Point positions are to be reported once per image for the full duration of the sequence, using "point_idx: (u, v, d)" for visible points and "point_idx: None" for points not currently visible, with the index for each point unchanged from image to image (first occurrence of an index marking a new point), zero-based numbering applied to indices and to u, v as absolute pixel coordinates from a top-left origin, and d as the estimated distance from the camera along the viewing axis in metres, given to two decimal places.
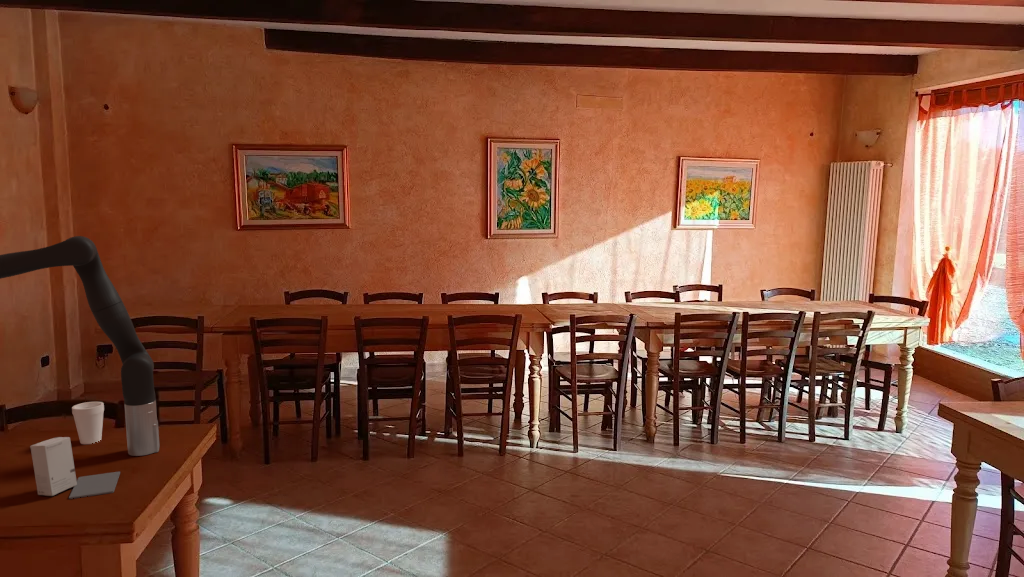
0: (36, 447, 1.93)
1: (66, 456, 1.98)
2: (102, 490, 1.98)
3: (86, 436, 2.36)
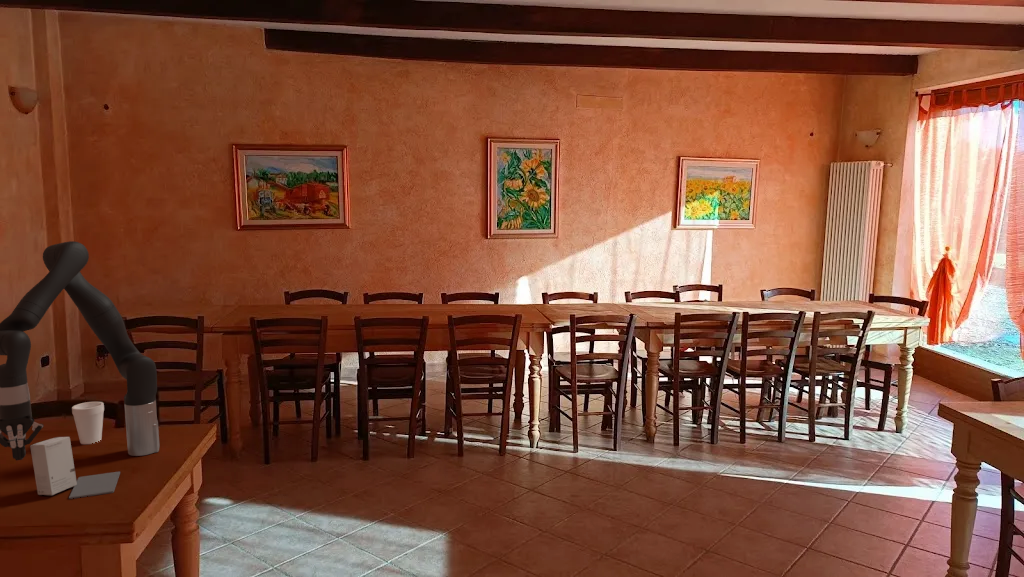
0: (36, 447, 1.94)
1: (66, 455, 1.99)
2: (102, 490, 1.98)
3: (86, 436, 2.36)
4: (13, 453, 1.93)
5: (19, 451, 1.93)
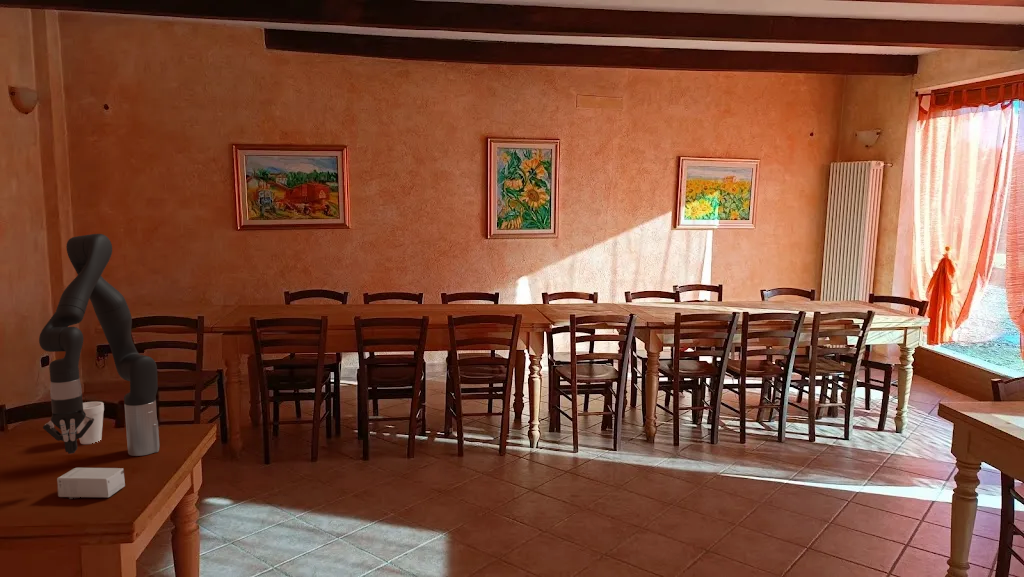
0: (105, 487, 1.92)
1: None
2: None
3: (86, 436, 2.36)
4: (66, 446, 1.98)
5: (71, 445, 1.98)
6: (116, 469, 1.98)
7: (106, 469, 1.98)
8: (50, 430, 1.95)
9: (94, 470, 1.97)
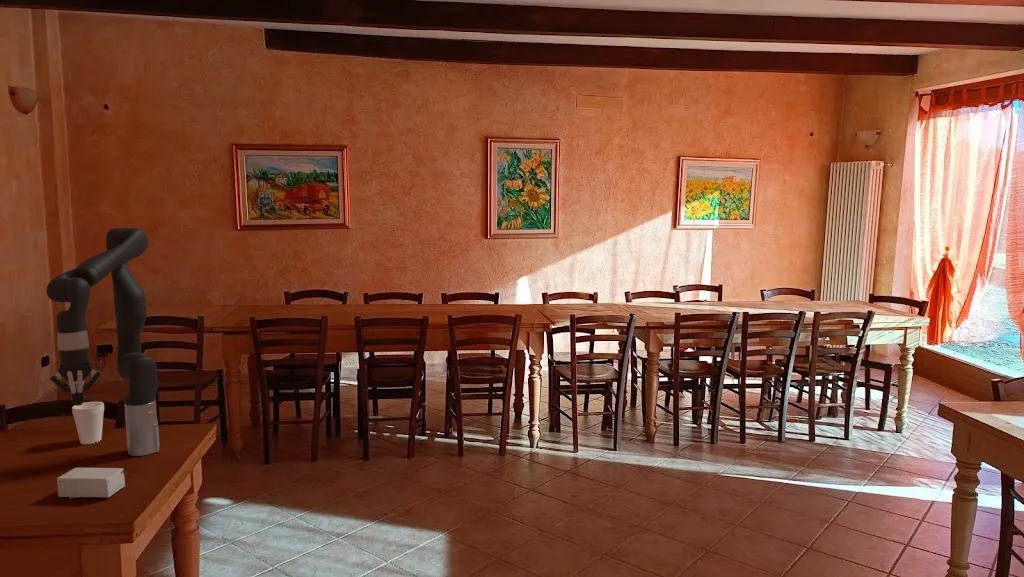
0: (105, 487, 1.92)
1: None
2: None
3: (86, 436, 2.36)
4: (73, 398, 1.97)
5: (79, 396, 1.97)
6: (116, 469, 1.98)
7: (106, 469, 1.98)
8: (57, 381, 1.95)
9: (94, 470, 1.97)
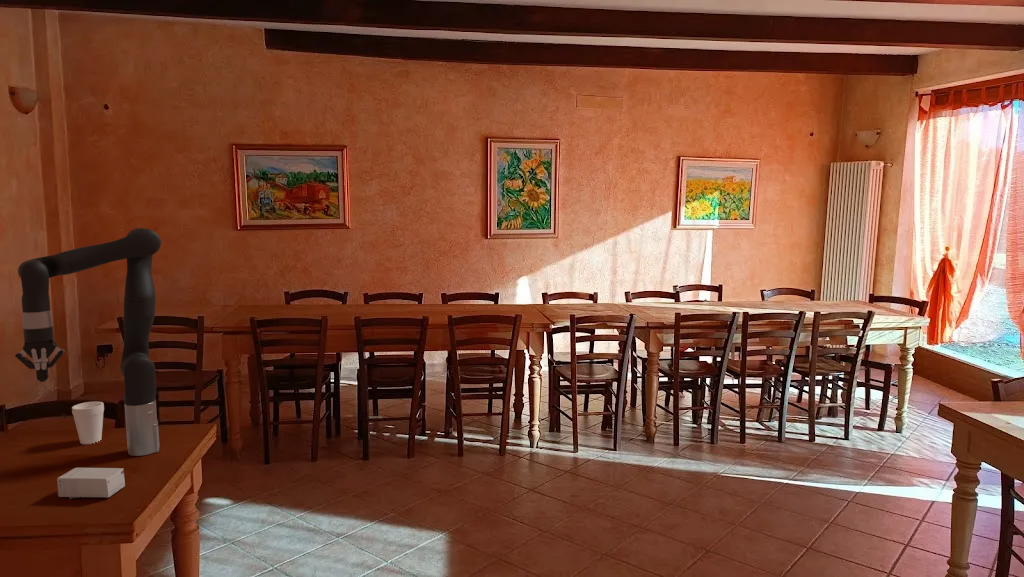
0: (105, 487, 1.92)
1: None
2: None
3: (86, 436, 2.36)
4: (37, 375, 2.08)
5: (43, 373, 2.08)
6: (116, 469, 1.98)
7: (106, 469, 1.98)
8: (22, 358, 2.06)
9: (94, 470, 1.97)
